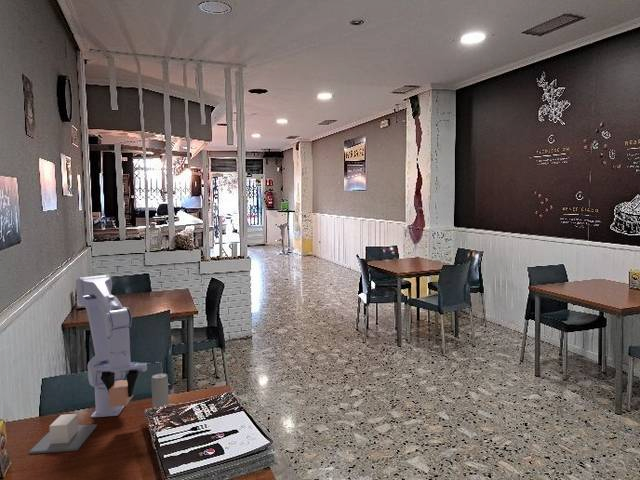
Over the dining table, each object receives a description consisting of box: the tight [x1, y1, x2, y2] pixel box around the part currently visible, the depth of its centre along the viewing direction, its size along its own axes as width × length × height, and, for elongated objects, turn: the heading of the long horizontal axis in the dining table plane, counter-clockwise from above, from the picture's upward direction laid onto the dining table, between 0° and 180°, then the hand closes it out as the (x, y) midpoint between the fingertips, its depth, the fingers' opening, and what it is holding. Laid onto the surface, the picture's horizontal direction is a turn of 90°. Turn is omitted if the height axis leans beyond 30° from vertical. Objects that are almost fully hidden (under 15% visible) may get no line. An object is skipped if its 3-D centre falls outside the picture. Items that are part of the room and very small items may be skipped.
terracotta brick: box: [109, 379, 134, 407], centre depth 134 cm, size 7×4×5 cm, turn 6°
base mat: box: [28, 423, 98, 455], centre depth 129 cm, size 14×12×1 cm
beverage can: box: [150, 372, 170, 409], centre depth 144 cm, size 5×5×12 cm
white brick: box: [49, 413, 79, 444], centre depth 128 cm, size 7×4×5 cm, turn 6°
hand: (121, 396), depth 135 cm, fingers closed on terracotta brick, 4 cm apart
